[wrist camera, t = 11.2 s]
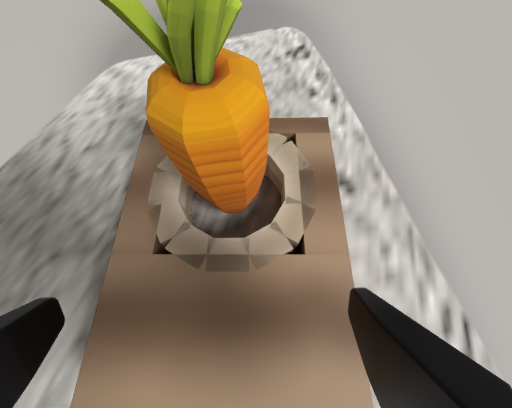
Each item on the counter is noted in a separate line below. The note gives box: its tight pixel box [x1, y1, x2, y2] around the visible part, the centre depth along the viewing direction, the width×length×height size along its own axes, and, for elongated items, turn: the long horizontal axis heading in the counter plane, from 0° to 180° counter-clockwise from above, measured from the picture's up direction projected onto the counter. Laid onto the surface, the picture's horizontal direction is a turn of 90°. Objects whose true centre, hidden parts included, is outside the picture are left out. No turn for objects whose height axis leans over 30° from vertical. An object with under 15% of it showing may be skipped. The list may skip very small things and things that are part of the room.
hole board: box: [70, 117, 373, 408], centre depth 16 cm, size 18×14×3 cm
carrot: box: [100, 0, 269, 214], centre depth 12 cm, size 5×5×15 cm
